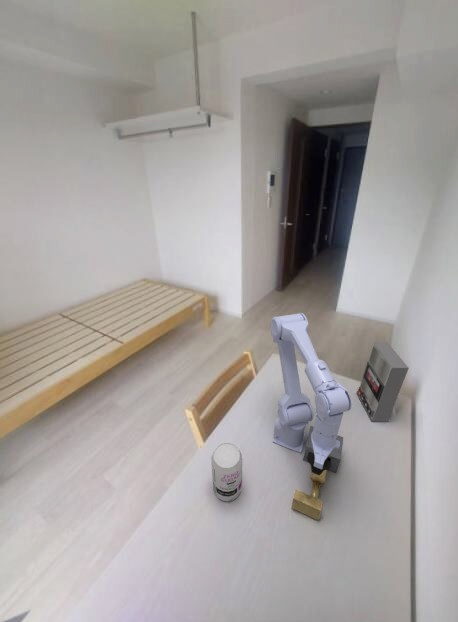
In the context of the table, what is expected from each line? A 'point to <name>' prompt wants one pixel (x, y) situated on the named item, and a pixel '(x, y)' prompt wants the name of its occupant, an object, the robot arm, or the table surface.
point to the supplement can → (227, 471)
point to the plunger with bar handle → (310, 497)
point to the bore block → (333, 456)
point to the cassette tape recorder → (381, 382)
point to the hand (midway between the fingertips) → (318, 460)
